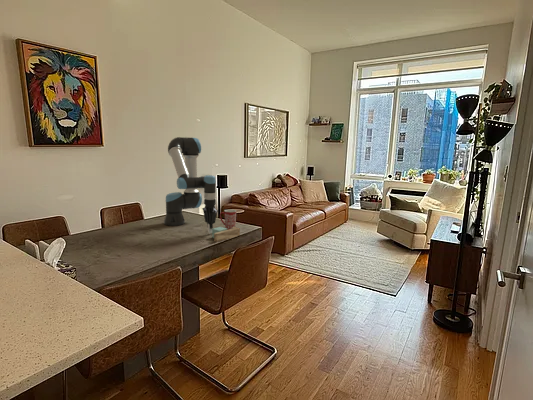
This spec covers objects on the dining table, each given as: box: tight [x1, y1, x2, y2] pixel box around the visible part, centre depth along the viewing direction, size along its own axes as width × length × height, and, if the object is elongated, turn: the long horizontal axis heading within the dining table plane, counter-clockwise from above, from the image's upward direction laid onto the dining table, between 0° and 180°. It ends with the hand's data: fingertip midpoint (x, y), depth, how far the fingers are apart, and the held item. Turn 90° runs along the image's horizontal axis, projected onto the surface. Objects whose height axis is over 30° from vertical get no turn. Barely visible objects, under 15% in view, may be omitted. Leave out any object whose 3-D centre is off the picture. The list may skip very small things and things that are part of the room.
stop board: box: [213, 226, 241, 243], centre depth 207 cm, size 5×20×5 cm, turn 141°
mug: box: [219, 209, 238, 230], centre depth 230 cm, size 13×9×14 cm
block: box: [211, 226, 227, 239], centre depth 208 cm, size 7×7×6 cm
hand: (210, 232), depth 215 cm, fingers closed
